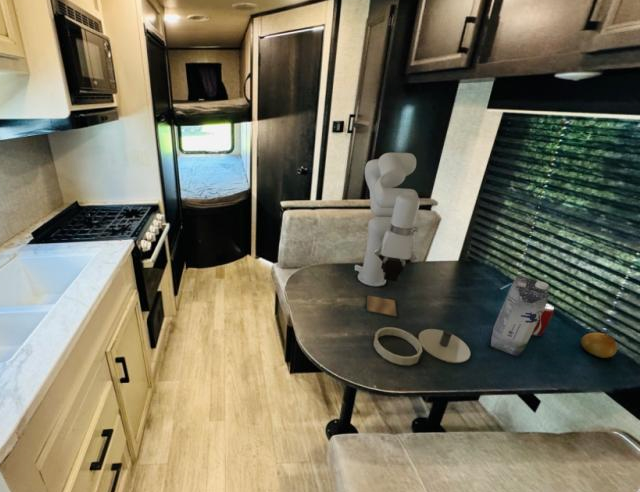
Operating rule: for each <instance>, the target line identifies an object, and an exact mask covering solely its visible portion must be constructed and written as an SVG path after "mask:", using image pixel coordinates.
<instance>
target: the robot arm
mask: <svg viewBox="0 0 640 492" xmlns="http://www.w3.org/2000/svg"><path fill="white" fill-rule="evenodd" d="M416 167H417V158H416V156H415V155H414V154H413V153H410V152H386V153H383V154H382V155H381V156H379V158H376V159H371V160H368V161H367V162H366V164H365V167H364V178H365V182H366V185H367V187H368V190H369V202H370V213H371V214H372V215H373V216H374V217H371V219H370V220H369V221H368V224H367V243H366V246H365V247H366V248H365V253H364V259H363V264H362V266H361V265H359V264H355V265H354V271H355V272H358V274H357V280H358V281H360V282H361V283H362V284H364V285H367V286H370V287H382V286H384V285H386V284H387V280H384V276H383V273H384V272H385V270H386V265H387V259H388V257H392V258H399V259H401V267H400V271H399V275H398V276H401V273H404V268H405V266H406V265H409V264H410V263H411V262H415V261H417V260H418V259H417V256H416V254H415V252H414V251H413V250H414V243H415V233H414V232H418V231H419V227H416V226H415V224H416V220H417V217H418V213H419V208H420V205H421V199H420V198H419V194H418V192H417V191H416V190H415V189H412V188H400V187H399V188H398V187H397V186H400V185H401V184H402V183H403V182H404V181H405V179H406V177H407V176H409V175H411V174H412V173H413V172H414V171H415V170H416Z"/></svg>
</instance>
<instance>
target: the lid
mask: <svg viewBox="0 0 640 492" xmlns="http://www.w3.org/2000/svg"><path fill="white" fill-rule="evenodd" d="M417 339H418V341H419V342H420V344H421V345H422V349H423V350H424V351H426V352H427V353H428V354H429V355H431V356H433V357H435V358H436V359H438V360H441V361H443V362H447V363H453V364H461V363H465V362H467V361H468V360H469V359H470V357H471V350H470V348H469V346H468V345H467V343H466V342H464V340H462V339H461V338H459V337H458V336H456V335H455V334H453V332H452V331H451V330H449V329H444V330H443V329H435V328H428V329H424V330H421V331H420V332H419V333H418V337H417Z"/></svg>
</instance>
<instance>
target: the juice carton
mask: <svg viewBox="0 0 640 492" xmlns="http://www.w3.org/2000/svg"><path fill="white" fill-rule="evenodd" d="M549 286H550V285H549V282H544V281H541V280H537V279H533V278H531V277H526V276H523V275H519V274H518V275H517V276H516V278H515V279H514V281H513V282H512V284H511V286H510V288H509V290H508V292H507V295H506V297H505V299H504V302H503V304H502V306H501V309H500V311H499V314H498V316H497V318H496V320H495V323H494V326H493V329H492V333H491V339H490V341H491V342H490V346H491V347H492V348H495V349H496V350H499V351H503V352H504V353H507V354H510V355H512V356H514V357H519V356H520V354H522V352H523V351H524V350H525V348H526V346H527V344H528V343H529V340H530V338H531V336H533V335H532V333H533V331H534V329H535V327H536V325H537V323H538V321H539V319H540V317H541V315H542V313H543V311H544V308H545V306H546V304H547V303H548V300H549V296H550V295H549V292H548V289H549Z"/></svg>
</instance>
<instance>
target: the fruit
mask: <svg viewBox="0 0 640 492" xmlns="http://www.w3.org/2000/svg"><path fill="white" fill-rule="evenodd" d="M581 346H582V348H583V349H584V350H585V351H586V352H587V353H588V354H590V355H592V356H595V357H598V358H602V359H608V358H611V357H613V356H615V354H617V351H618V344H617V342H616V340H615V339H614V338H613V337H612V336H611V334H608V333H603V332H589V333H587V334H584V336H583V337H582V338H581Z"/></svg>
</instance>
